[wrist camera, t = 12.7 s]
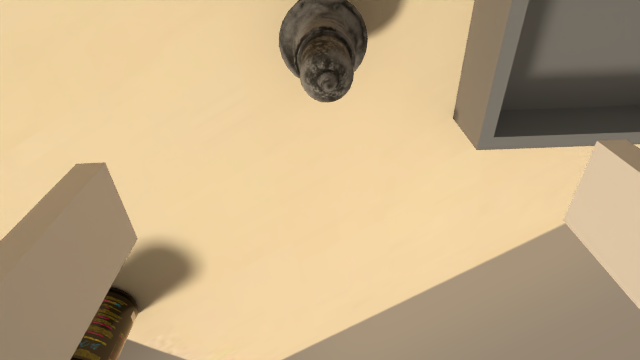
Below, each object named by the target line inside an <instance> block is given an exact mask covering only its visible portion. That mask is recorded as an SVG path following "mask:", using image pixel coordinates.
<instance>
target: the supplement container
mask: <svg viewBox="0 0 640 360" xmlns="http://www.w3.org/2000/svg"><path fill="white" fill-rule="evenodd" d="M137 314H138V307H137V304H136V302H135V300H134V299H133V298H132V297H131V296H130V295H128V294H127V293H125V292H123V291H121V290H119V289H116V288H111V287H110V289H109V291H108V293H107V295H106V296H105V298H104V300H103V302H102V304H101V305H100V307H99V309H98V311H97V313H96V314H95V316H94V318H93V320H92V322H91V323H90V325H89V327H88V329H87V331H86V332H85V334H84V336H83V338H82V340H81V341H80V343H79V345H78V347H77V349H76V350H75V352H74V354H73V356H72V358H71V359H70V360H117V359H118V357H119V355H120V353H121V350H122V348H123V346H124V344H125V341H126V339H127V337H128V335H129V333H130V330H131V328H132V326H133V324H134V321H135V319H136V317H137Z"/></svg>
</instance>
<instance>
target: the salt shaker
mask: <svg viewBox="0 0 640 360" xmlns="http://www.w3.org/2000/svg"><path fill="white" fill-rule="evenodd" d="M367 40H368V38H367V30H366V26H365V23H364V21H363V18H362V16H361V14H360V13H359V12H358V11H357V9H356V8H355V7H354V6H353V5H352V4H351V3H349V2H348V1H347V0H299V1H298V2H297V3H296V4H295V5H294V6H293V7H292V8H291V9H290V10H289V11H288V13H287V15H286V16H285V18H284V20H283V22H282V25H281V29H280V33H279V47H280V51H281V55H282V58H283V60H284V62H285V64H286V65H287V67H288V68H289V70H290V71H291V72H292V73H293V74H294V75H295V76H297V77H298V78H300V80H301V84H302V86H303V88H304V90H305V91H306V92H307V94H308V95H309V96H310V97H312V98H313V99H315V100H317V101H320V102H333V101H336V100H338V99H340V98H342V97H343V96H344V95H345V94H346V93H347V92H348V90H349V89H350V87H351V84H352V81H353V75H354V72H355V71H356V69H357V68H358V67H359V65H360V64H361V62H362V60H363V58H364V55H365V53H366V48H367Z"/></svg>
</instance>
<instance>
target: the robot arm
mask: <svg viewBox="0 0 640 360" xmlns="http://www.w3.org/2000/svg"><path fill="white" fill-rule="evenodd" d="M563 221H564V222H565V223H566V224H567V225H568V226H569V227H570V229H571V230H572V231H573V232H574V233H575V235H576V236H577V237H578V238H579V239H580V240H581V242H582V243H583V244H584V245H585V246H586V247H587V248H588V250H589V251H590V252H591V253H592V254H593V255H594V257H595V258H596V259H597V260H598V261H599V262H600V264H601V265H602V266H603V267H604V268H605V269H606V271H607V272H608V273H609V274H610V275H611V276H612V278H613V279H614V280H615V281H616V282H617V283H618V285H619V286H620V287H621V288H622V289H623V290H624V291H625V293H626V294H627V295H628V296H629V297H630V299H631V300H632V301H633V302H634V303H635V304H636V306H637V307H638V308H639V309H640V149H639V148H638V147H636V146H635V145H633V144H632V143H630V142H629V141H627V140H626V139H625V140H602V141H597V142H596V144H595V147H594V149H593V151H592V154H591V156H590V158H589V161H588V163H587V165H586V168H585V170H584V172H583V175H582V177H581V179H580V182H579V184H578V186H577V189H576V191H575V193H574V196H573V198H572V200H571V203H570V205H569V207H568V210H567V212H566V214H565V217H564V219H563ZM136 240H137V236H136V234H135V232H134V229H133V227H132V225H131V222H130V220H129V218H128V215H127V213H126V210H125V208H124V206H123V203H122V201H121V199H120V196H119V194H118V192H117V189H116V187H115V185H114V182H113V180H112V178H111V175H110V173H109V171H108V168H107V166H106V164H105V163H84V164H76V165H75V166H74V167H73V168H72V169H71V170H70V171H69V172H68V173H67V174H66V175H65V176H64V177H63V178H62V179H61V180H60V181H59V182H58V183H57V184H56V185H55V186H54V187H53V188H52V189H51V190H50V191H49V192H48V193H47V194H46V195H45V196H44V197H43V198H42V199H41V200H40V201H39V203H38V204H37V205H36V206H35V207H34V208H33V209H32V210H31V211H30V212H29V213H28V214H27V215H26V216H25V217H24V218H23V219H22V220H21V221H20V222H19V223H18V224H17V225H16V226H15V227H14V228H13V229H12V230H11V231H10V232H9V233H8V234H7V235H6V236H5V237H4V238H3V239H2V240H1V241H0V360H70V359H71V358H72V356H73V354H74V352H75V350H76V349H77V347H78V345H79V343H80V341H81V340H82V338H83V336H84V334H85V332H86V331H87V329H88V327H89V325H90V323H91V322H92V320H93V318H94V316H95V314H96V313H97V311H98V309H99V307H100V305H101V304H102V302H103V300H104V298H105V296H106V295H107V293H108V291H109V289H110V287H111V285H112V284H113V282H114V280H115V278H116V276H117V275H118V273H119V271H120V269H121V267H122V266H123V264H124V262H125V260H126V258H127V257H128V255H129V253H130V251H131V249H132V248H133V246H134V244H135V242H136Z"/></svg>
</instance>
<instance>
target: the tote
mask: <svg viewBox="0 0 640 360" xmlns="http://www.w3.org/2000/svg"><path fill="white" fill-rule="evenodd" d="M453 119H454V120H455V121H456V123H457V124H458V126H459V127H460V128H461V130H462V131H463V132H464V134H465V135H466V136H467V138H468V139H469V140H470V142H471V143H472V144H473V146H474V147H475V148H476V150H491V149H519V148H546V147H573V146H595V144H596V142H597V141H602V140H625V139H626V140H627V141H629V142H630V143H632V144H640V0H475V2H474V7H473V13H472V18H471V24H470V29H469V35H468V40H467V45H466V51H465V56H464V62H463V67H462V72H461V78H460V83H459V89H458V94H457V99H456V105H455V110H454V116H453Z"/></svg>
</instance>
